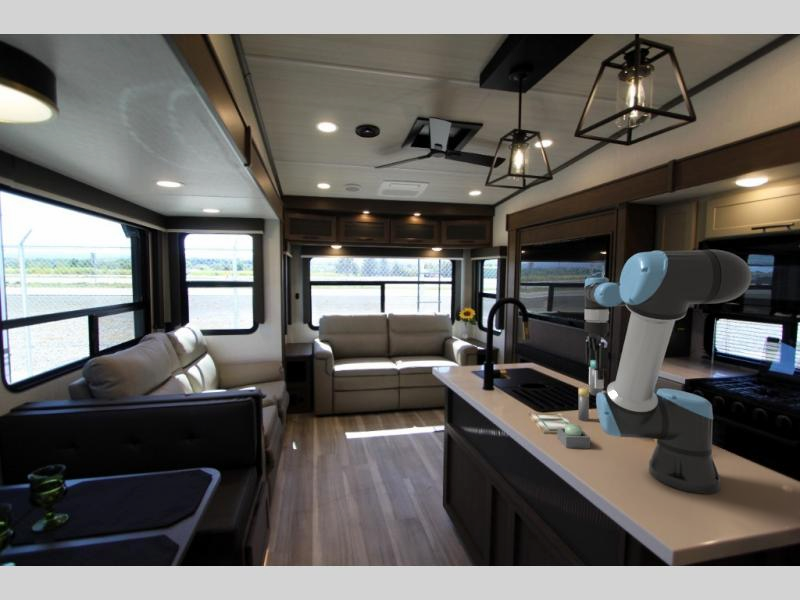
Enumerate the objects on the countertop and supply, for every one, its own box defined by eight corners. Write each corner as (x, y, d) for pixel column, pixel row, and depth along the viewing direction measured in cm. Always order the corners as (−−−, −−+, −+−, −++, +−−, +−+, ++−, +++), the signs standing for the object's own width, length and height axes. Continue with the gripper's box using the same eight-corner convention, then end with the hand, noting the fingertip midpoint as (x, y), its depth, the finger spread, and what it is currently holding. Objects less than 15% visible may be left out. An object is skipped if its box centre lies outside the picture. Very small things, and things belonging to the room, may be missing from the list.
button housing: (589, 448, 115) (590, 437, 115) (566, 447, 116) (566, 437, 116) (579, 438, 123) (579, 428, 123) (557, 438, 123) (557, 428, 123)
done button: (584, 441, 117) (584, 429, 116) (568, 441, 117) (568, 429, 117) (577, 434, 122) (577, 423, 121) (562, 434, 122) (562, 423, 122)
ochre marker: (590, 421, 138) (590, 390, 138) (580, 421, 138) (581, 390, 138) (586, 417, 142) (586, 387, 141) (576, 417, 142) (576, 387, 142)
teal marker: (604, 395, 126) (604, 362, 125) (593, 395, 126) (593, 362, 125) (598, 392, 129) (599, 359, 129) (588, 392, 130) (588, 360, 129)
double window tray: (581, 433, 126) (581, 430, 126) (543, 433, 127) (543, 429, 127) (561, 415, 144) (561, 412, 144) (528, 415, 145) (528, 412, 145)
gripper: (620, 323, 118) (620, 393, 119) (595, 319, 135) (595, 380, 136) (597, 323, 119) (596, 393, 119) (575, 319, 135) (575, 380, 136)
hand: (596, 386), depth 128 cm, fingers closed on teal marker, 3 cm apart
